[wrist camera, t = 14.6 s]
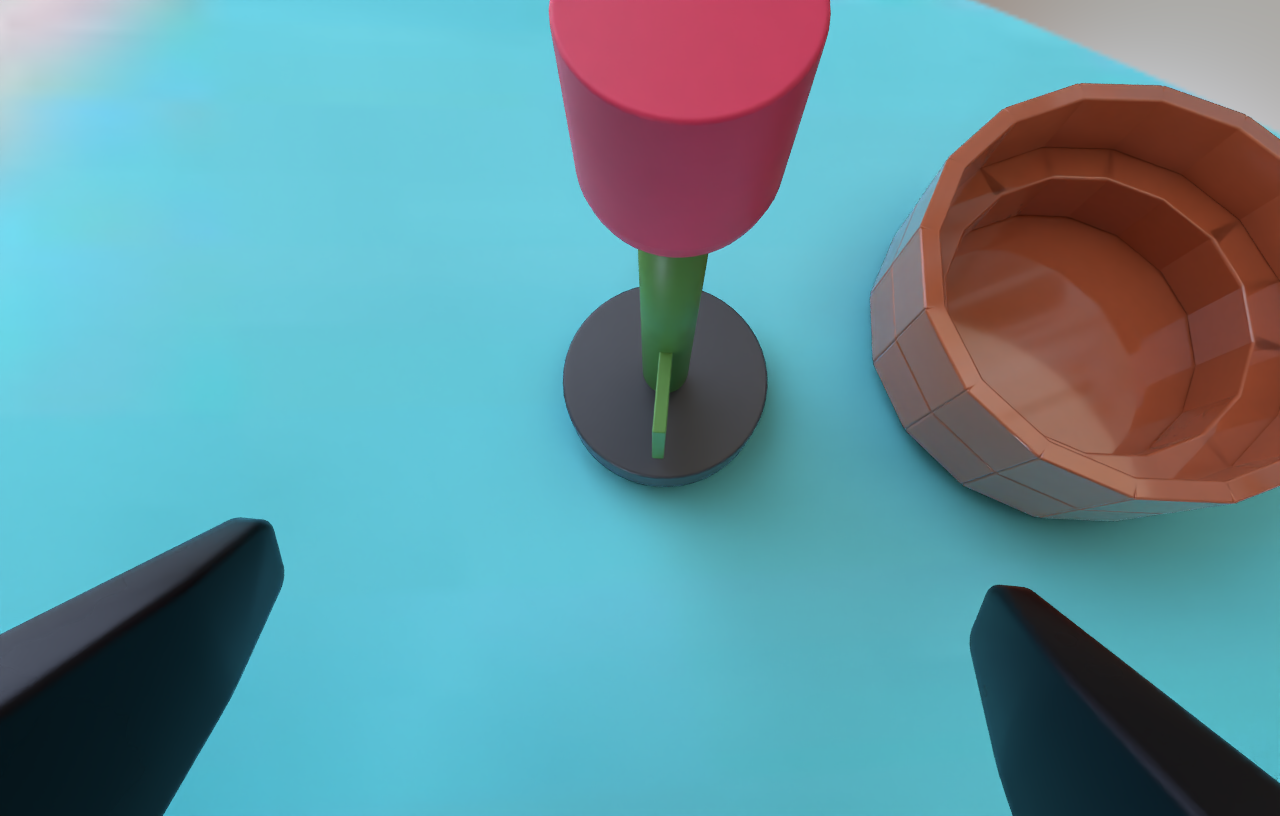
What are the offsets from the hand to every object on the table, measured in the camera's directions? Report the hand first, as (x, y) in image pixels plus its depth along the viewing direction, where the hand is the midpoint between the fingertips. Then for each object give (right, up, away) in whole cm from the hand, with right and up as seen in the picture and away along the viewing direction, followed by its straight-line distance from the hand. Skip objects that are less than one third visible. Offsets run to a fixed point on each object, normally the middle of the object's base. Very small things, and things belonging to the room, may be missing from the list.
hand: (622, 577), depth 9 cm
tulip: (+1, +3, +12) cm, 12 cm away
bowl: (+12, +4, +12) cm, 18 cm away
